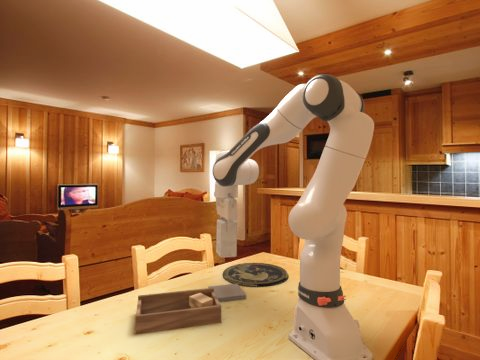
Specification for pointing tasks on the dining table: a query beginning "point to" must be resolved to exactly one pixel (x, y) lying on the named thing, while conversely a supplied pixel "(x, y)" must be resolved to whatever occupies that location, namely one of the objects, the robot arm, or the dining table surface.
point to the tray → (174, 311)
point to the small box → (226, 239)
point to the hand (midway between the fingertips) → (226, 229)
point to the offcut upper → (200, 300)
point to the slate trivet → (228, 292)
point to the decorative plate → (255, 275)
